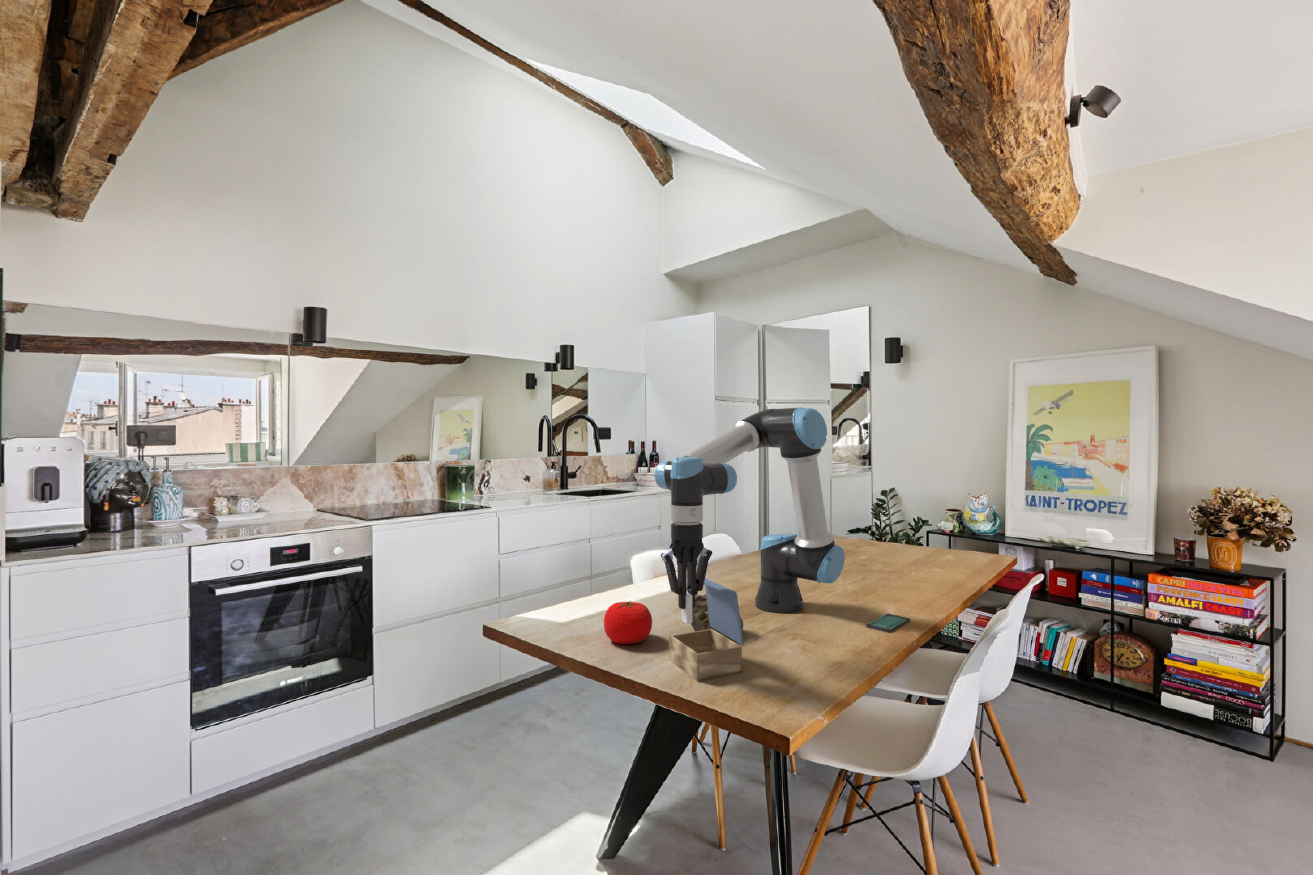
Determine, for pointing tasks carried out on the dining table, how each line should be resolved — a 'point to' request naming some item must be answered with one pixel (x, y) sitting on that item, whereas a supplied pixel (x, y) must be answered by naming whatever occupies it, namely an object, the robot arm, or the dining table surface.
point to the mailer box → (705, 654)
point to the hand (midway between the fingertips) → (686, 621)
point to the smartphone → (888, 623)
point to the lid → (723, 610)
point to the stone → (703, 615)
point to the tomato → (627, 622)
